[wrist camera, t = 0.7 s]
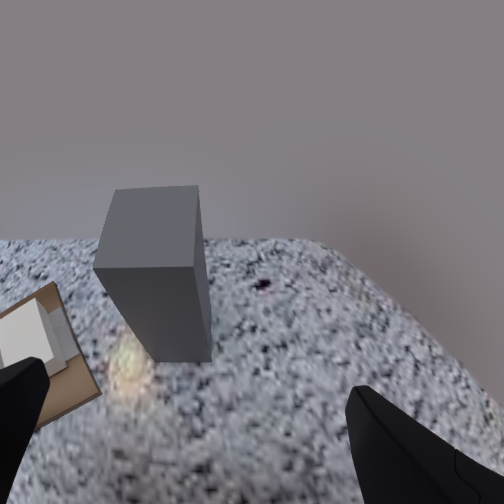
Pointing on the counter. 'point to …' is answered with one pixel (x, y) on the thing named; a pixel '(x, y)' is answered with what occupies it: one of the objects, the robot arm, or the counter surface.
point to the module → (158, 270)
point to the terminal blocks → (30, 337)
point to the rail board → (68, 379)
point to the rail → (60, 336)
